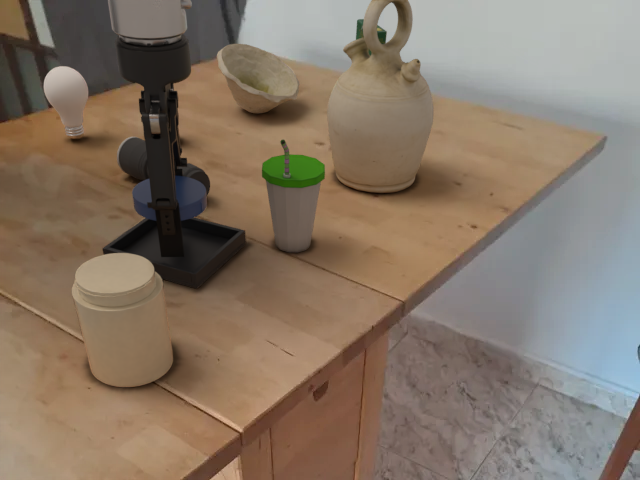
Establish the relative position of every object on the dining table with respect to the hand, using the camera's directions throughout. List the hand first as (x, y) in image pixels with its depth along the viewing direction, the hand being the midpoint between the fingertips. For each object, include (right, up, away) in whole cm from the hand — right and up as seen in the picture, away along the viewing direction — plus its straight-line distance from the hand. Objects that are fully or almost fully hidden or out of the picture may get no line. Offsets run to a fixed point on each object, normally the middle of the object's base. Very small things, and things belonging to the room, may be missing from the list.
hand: (174, 236), depth 86 cm
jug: (+27, +15, +21) cm, 37 cm away
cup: (+15, 0, +4) cm, 15 cm away
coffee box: (+27, +39, +46) cm, 66 cm away
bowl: (+7, +34, +40) cm, 53 cm away
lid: (0, +4, -4) cm, 6 cm away
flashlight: (-5, +11, +15) cm, 19 cm away
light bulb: (-22, +24, +28) cm, 42 cm away
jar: (-1, -17, -15) cm, 23 cm away
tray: (0, -2, +2) cm, 2 cm away
